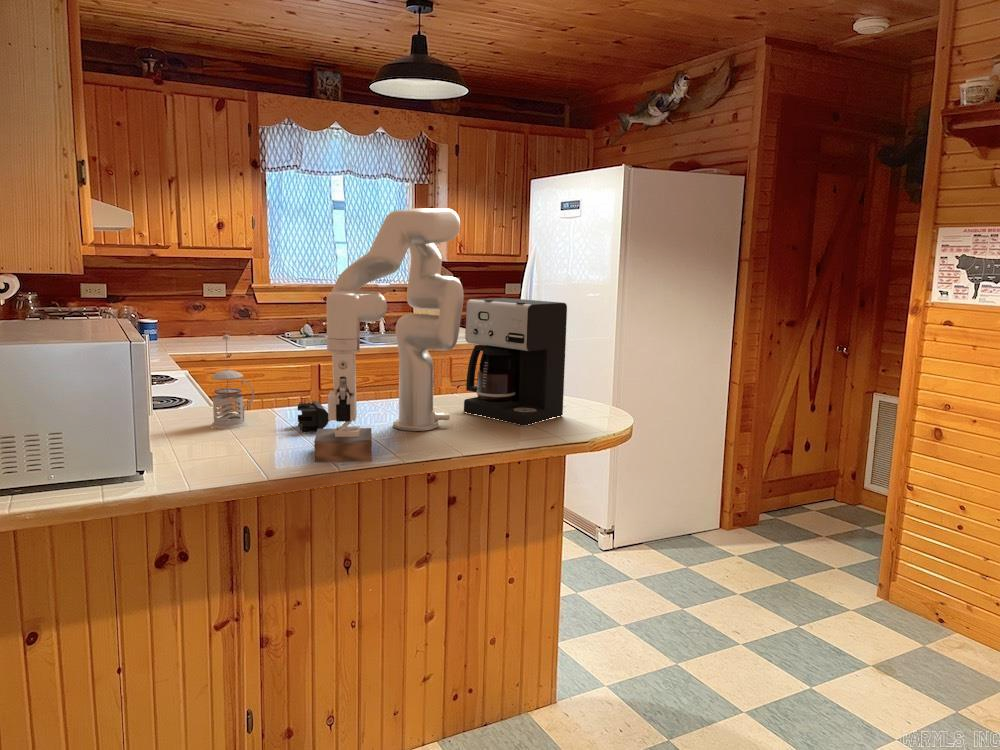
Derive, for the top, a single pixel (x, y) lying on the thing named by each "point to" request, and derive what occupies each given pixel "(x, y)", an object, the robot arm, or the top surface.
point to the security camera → (345, 429)
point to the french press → (229, 400)
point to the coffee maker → (516, 358)
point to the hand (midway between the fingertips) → (343, 416)
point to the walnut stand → (343, 446)
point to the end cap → (312, 417)
